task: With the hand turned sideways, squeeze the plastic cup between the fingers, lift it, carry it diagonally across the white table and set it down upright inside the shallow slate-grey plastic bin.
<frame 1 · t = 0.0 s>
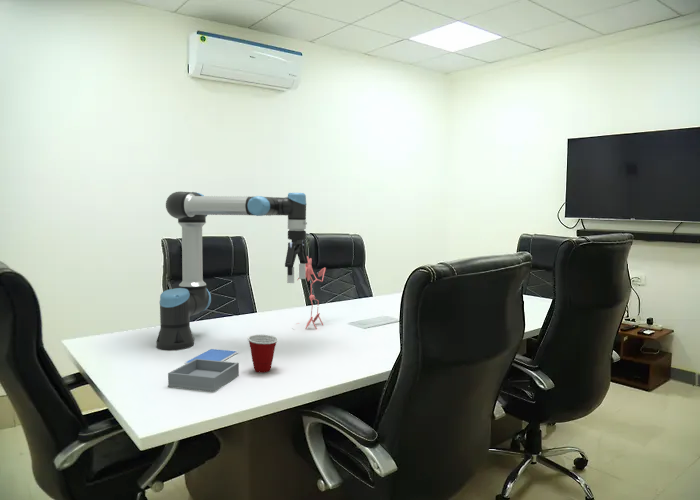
hand: (296, 280, 213), 28 cm above the table, tool pointing down, fingers open, 13 cm apart
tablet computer: (212, 360, 197), on the table
figurine: (307, 326, 252), on the table
bin: (204, 380, 171), on the table
plastic cup: (263, 370, 183), on the table
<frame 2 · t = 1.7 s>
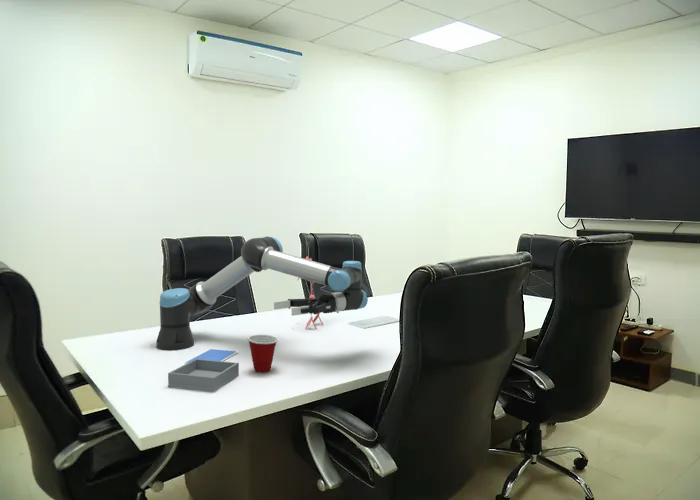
hand: (282, 308, 185), 22 cm above the table, tool horizontal, fingers open, 13 cm apart
nothing on the table moved.
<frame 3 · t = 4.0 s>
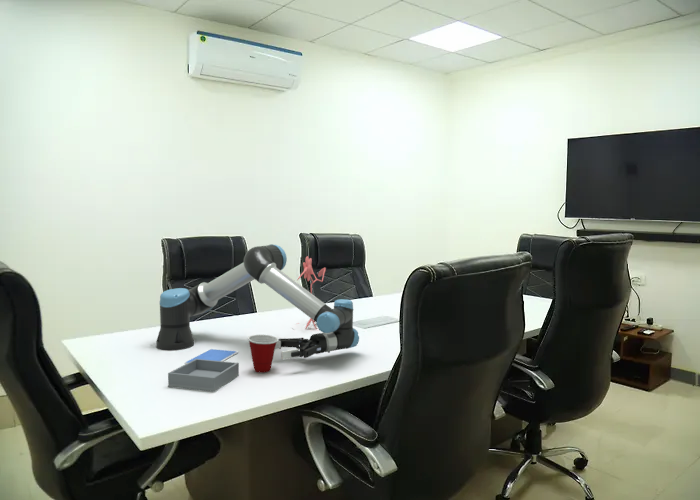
hand: (272, 351, 184), 7 cm above the table, tool horizontal, fingers open, 13 cm apart
nothing on the table moved.
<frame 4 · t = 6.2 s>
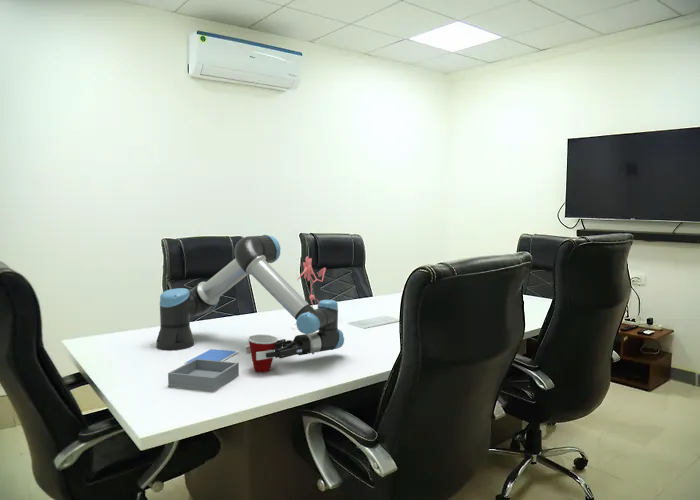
hand: (251, 353, 179), 7 cm above the table, tool horizontal, fingers closed on plastic cup, 8 cm apart
plastic cup: (263, 370, 183), on the table, touching gripper
everything else where it was.
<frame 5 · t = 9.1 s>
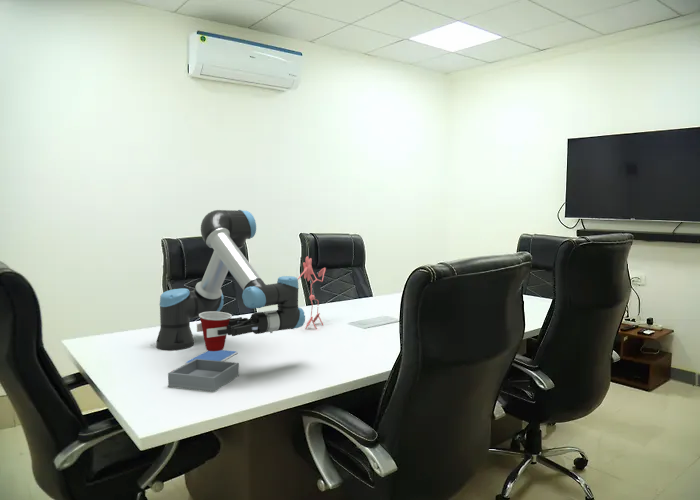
hand: (202, 330, 168), 18 cm above the table, tool horizontal, fingers closed on plastic cup, 8 cm apart
plastic cup: (215, 349, 171), point 10 cm above the table, touching gripper
everything else where it was.
when the fingers open (9 cm above the table, at t = 11.9 s): plastic cup moves 3 cm, point 2 cm above the table.
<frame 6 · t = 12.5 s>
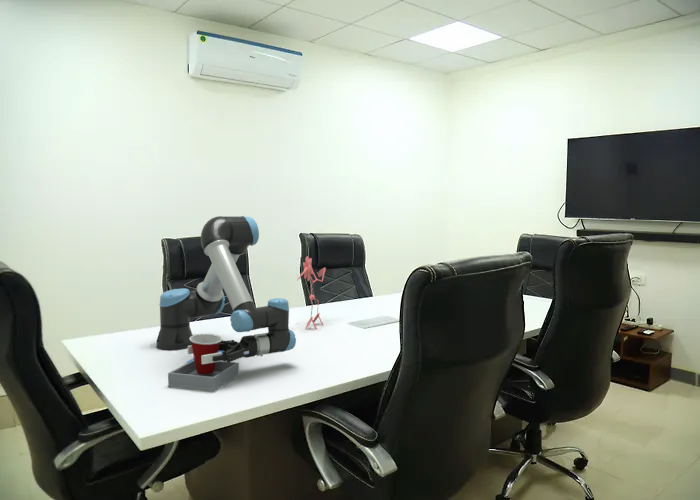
hand: (194, 354, 168), 9 cm above the table, tool horizontal, fingers open, 13 cm apart
plastic cup: (206, 372, 173), point 2 cm above the table, touching gripper
everything else where it was.
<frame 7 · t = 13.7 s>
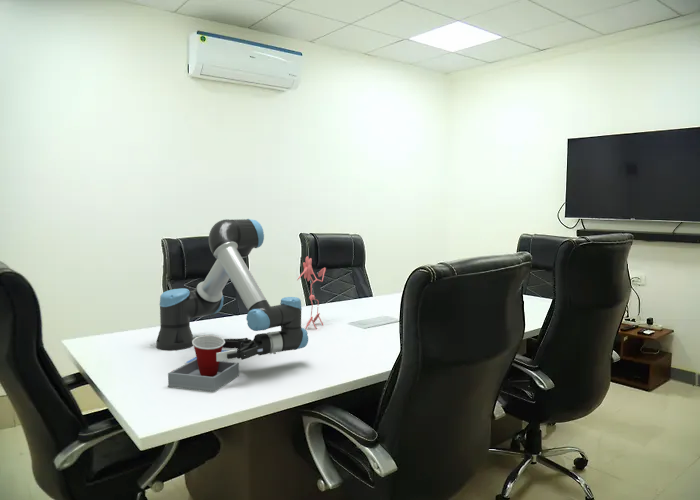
hand: (209, 352, 171), 10 cm above the table, tool horizontal, fingers open, 13 cm apart
plastic cup: (209, 373, 174), point 1 cm above the table, touching bin, gripper
everything else where it was.
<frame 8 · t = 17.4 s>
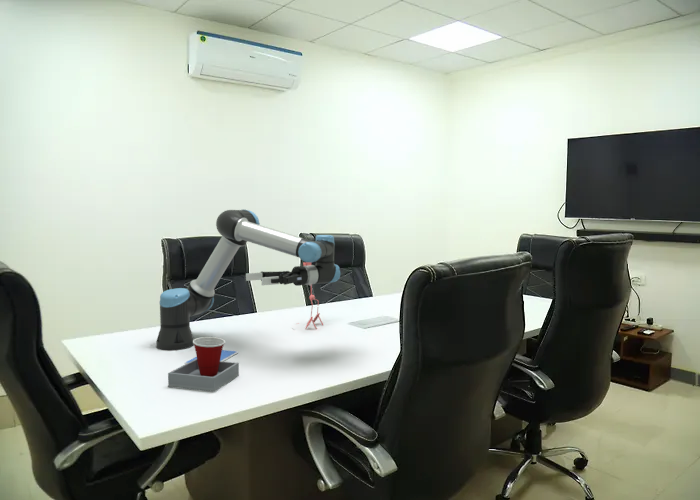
hand: (253, 279, 187), 32 cm above the table, tool horizontal, fingers open, 13 cm apart
plastic cup: (209, 375, 174), point 1 cm above the table, touching bin
everything else where it was.
at the end: plastic cup inside the target area on the bin (3.7 cm from its centre), point 0.8 cm above the bin's base; plastic cup tilted 0°; the gripper is holding nothing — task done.
